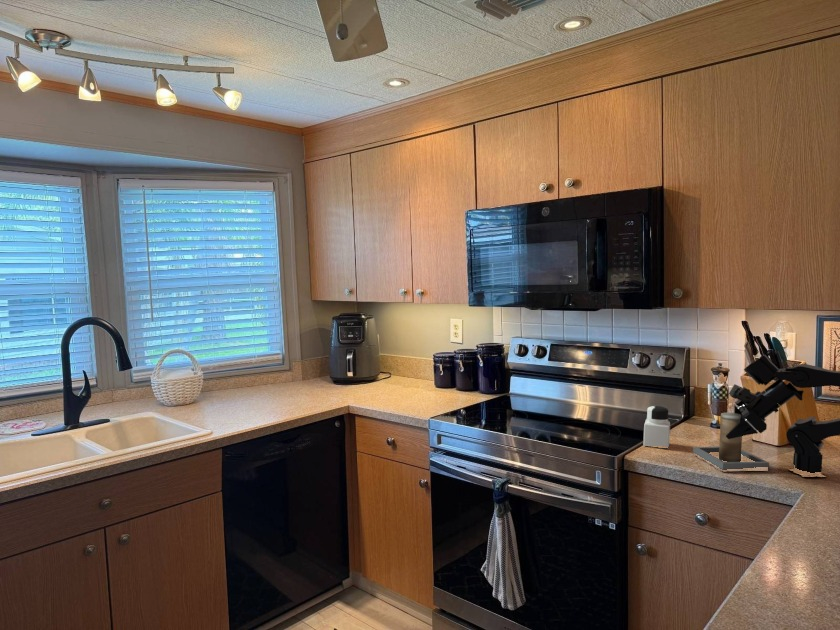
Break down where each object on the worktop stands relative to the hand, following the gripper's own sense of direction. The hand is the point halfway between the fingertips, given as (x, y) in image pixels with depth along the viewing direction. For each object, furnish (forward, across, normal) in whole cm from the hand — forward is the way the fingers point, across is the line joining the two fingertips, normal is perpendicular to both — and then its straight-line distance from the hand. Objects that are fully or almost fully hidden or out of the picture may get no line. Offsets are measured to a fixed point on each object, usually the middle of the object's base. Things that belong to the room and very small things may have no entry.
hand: (725, 433), depth 168 cm
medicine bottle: (+19, -11, -6) cm, 22 cm away
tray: (+5, 0, +7) cm, 8 cm away
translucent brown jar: (+4, 0, +6) cm, 8 cm away
